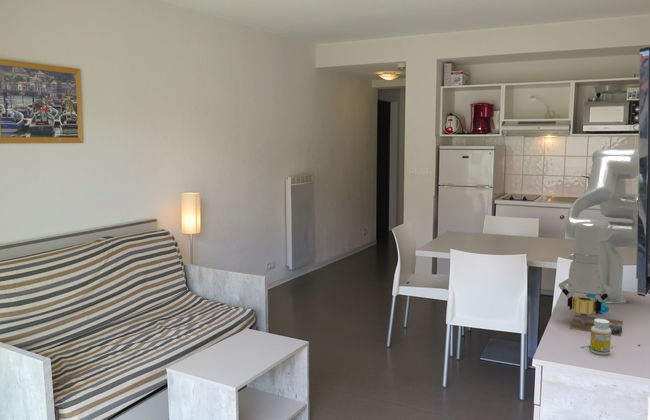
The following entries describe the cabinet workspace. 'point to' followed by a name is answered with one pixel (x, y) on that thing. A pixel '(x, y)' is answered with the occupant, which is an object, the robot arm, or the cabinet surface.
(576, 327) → the gear board
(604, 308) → the gear
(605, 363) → the cabinet surface
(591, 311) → the brass gear
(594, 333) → the supplement bottle
